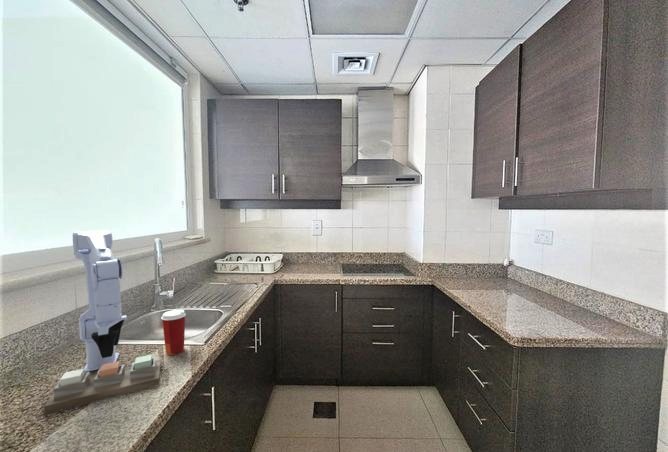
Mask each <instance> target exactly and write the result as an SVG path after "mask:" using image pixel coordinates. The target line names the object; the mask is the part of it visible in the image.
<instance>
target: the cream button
mask: <svg viewBox="0 0 668 452" xmlns="http://www.w3.org/2000/svg"><path fill="white" fill-rule="evenodd" d="M84 373H85V372H84V368H80V369H76V370H70V371H65V372H64V373H63V375H62V376H61V378H60V379H59V381H60V386H65V385H69V384H74V383H78V382H82V380H83V379H84V377H85V376H84Z"/></svg>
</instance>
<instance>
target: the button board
mask: <svg viewBox="0 0 668 452" xmlns="http://www.w3.org/2000/svg"><path fill="white" fill-rule="evenodd" d="M161 363H162V362H161V359H159V360H157V357H152V366H149V367H145V368H141V369H136V370H135V365H134V364H135V361H133V362H132V363H131V366H126V367H125V363H123V364H120V370H119V373H118V374H114V375H109V376H105V377H100V378H99V370H100V369H98V371H97V372H96V373H94V374H91V371H89V372H84V376H85V377H84V379H83V380H82V382H78V383H74V384H69V385H65V386H60V380H59V381H58V382H57V384H56V385H55V387H54V388H53V393H52V394H51V396H50V397H49V399H48V400H47V401H46V403H45V405H44V407H43V408H44V414H45V415H46V414H51V413H54V412H55V413H56V412H59V411H63V410H68V409H70V408H74V407H78V406H82V405H86V404H90V403H94V402H97V401H98V402H99V401H102V400H105V399H106V400H107V399H110V398H114V397H117V395H118V396H122V395H125V394H130V393H133V392H139V391H142V390H144V389H149V388H155V387H157V386H160V379H161V365H162V364H161Z"/></svg>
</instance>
